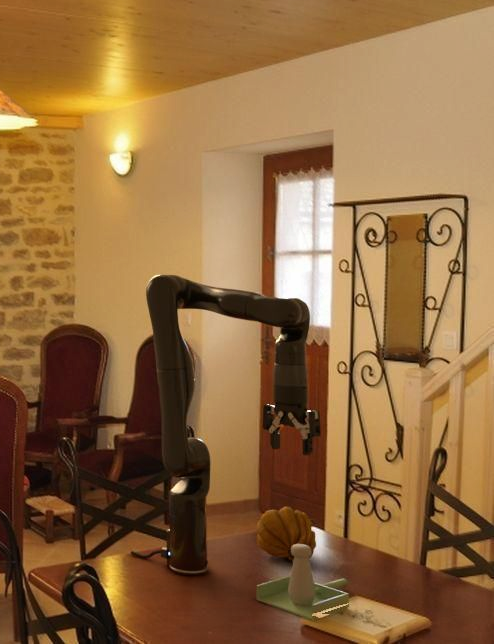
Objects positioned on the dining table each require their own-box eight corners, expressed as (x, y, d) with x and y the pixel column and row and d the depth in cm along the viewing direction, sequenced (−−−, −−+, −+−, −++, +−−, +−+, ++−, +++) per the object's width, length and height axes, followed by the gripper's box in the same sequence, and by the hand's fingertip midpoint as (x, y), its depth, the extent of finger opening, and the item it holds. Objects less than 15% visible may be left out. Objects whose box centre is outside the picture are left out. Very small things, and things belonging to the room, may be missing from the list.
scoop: (313, 620, 192) (313, 605, 192) (256, 600, 205) (256, 585, 205) (375, 599, 204) (375, 584, 204) (318, 581, 217) (317, 567, 217)
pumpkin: (255, 572, 229) (249, 529, 248) (321, 584, 226) (309, 538, 245) (264, 526, 225) (256, 485, 244) (331, 537, 222) (318, 495, 240)
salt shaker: (317, 608, 198) (317, 549, 198) (290, 606, 199) (290, 548, 199) (312, 598, 204) (311, 542, 204) (286, 597, 205) (285, 541, 205)
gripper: (254, 381, 213) (255, 449, 213) (306, 387, 201) (307, 458, 201) (275, 379, 217) (276, 445, 217) (327, 384, 205) (328, 454, 205)
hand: (291, 451), depth 209 cm, fingers open, 8 cm apart
